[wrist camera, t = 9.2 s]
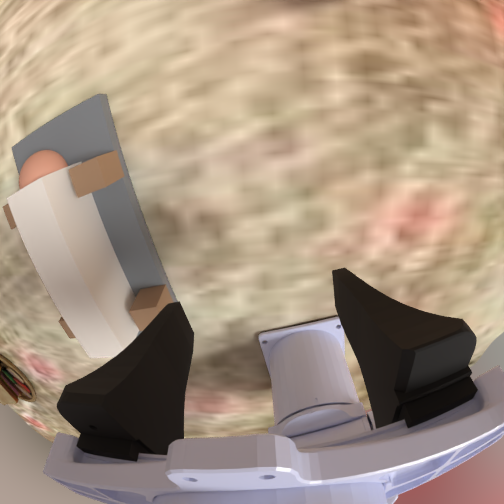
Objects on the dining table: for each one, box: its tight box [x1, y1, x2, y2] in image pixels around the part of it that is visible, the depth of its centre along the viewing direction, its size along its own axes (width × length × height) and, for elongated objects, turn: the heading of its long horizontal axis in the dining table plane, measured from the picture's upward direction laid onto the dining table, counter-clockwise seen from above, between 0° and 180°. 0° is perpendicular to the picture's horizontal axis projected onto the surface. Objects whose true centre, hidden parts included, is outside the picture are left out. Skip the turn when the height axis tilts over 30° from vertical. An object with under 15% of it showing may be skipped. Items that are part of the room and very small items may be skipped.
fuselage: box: [7, 150, 139, 358], centre depth 18 cm, size 16×4×5 cm, turn 13°
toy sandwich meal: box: [0, 355, 36, 405], centre depth 31 cm, size 12×14×5 cm
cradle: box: [3, 94, 178, 338], centre depth 20 cm, size 22×10×4 cm, turn 13°
